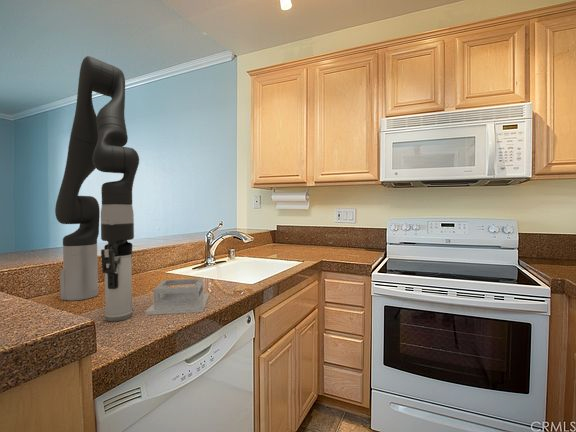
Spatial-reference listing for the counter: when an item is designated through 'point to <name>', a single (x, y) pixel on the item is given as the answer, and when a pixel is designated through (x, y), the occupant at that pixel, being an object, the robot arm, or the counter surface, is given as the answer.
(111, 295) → the travel mug
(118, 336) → the counter surface
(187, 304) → the collar stand
